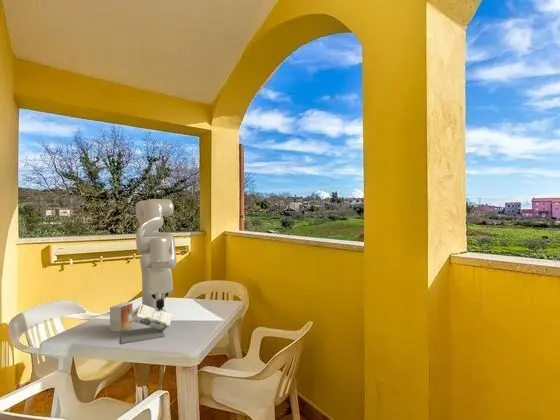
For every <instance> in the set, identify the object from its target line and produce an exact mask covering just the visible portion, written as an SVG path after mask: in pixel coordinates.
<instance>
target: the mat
mask: <svg viewBox="0 0 560 420" xmlns="http://www.w3.org/2000/svg"><path fill="white" fill-rule="evenodd" d="M120 333H121V336H120V340H121V341H120V344H121V345H123V344H124V343H125V344H128V343H129V344H130V343H135V342H136V343H137V342H141V341H148V340H152V339H153V340H155V339H159V338H165V332H164V331H163V330H160V329H156V328H153V327H150V326H147V327H143V328H136V329H130V330H123V331H121V332H120Z"/></svg>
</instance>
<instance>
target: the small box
mask: <svg viewBox="0 0 560 420" xmlns="http://www.w3.org/2000/svg"><path fill="white" fill-rule="evenodd" d="M132 317H133V303H132V302H121V303H119V304H116V305H113V306H110V307H109V331H110V332H120V333H121V332H122V331H126V330H127V329H129V328H132V327H133V321H132Z"/></svg>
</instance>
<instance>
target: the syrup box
mask: <svg viewBox="0 0 560 420" xmlns="http://www.w3.org/2000/svg"><path fill="white" fill-rule="evenodd" d="M172 317H173V313H170V312H164V311H161V310H158V309H155V308H152V307H149V306H146V305H143V304H142V303H140V304H139V305H138V306H137V307H136V308H135V310H134V312H133V313H132V322H135V323H139V324H141V325H144V326H147V327H153V328H156V329H160V330H163V332H164V331H165V330H167V329H168V328H169V327H170V325H171V322H172Z"/></svg>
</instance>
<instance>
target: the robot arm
mask: <svg viewBox="0 0 560 420" xmlns="http://www.w3.org/2000/svg"><path fill="white" fill-rule="evenodd" d="M174 212H175V206H174V203H173V201H172V200H171V199H170V198H151V199H147V200H146V199H145V200H140V201H138V202H136V204H135V215H136V218H137V220H138V223H139V227H138V228H137V230H136V233H135V243H136V244H135V245H136V250H137V252H138V253H139V254H141V256H140V258H139V264H140V265H139V266H140V270H141V289H142V290H141V295H142V296H141V298H142V299H141V302H142V303H141V304H143V305H146V306H149V307H152V308H155V309H158V310H161V311H164V312H166V310H165V309H163V308H165V300H166V298H167V297H168V296H170V295H172V294H174V291H173V290H174V281H173V280H174V279H173V273H172V272H173V271H172V270H173V269H175V268H176V266H177V253H176V243H175V237H174V235H173V234H172V233H171V232H160V231H159V229H161V228H162V227H163V226H164V222H165V221H164V217H166V216H167V217H168V216H169V217H170V216H172V215H173V214H174Z"/></svg>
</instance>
